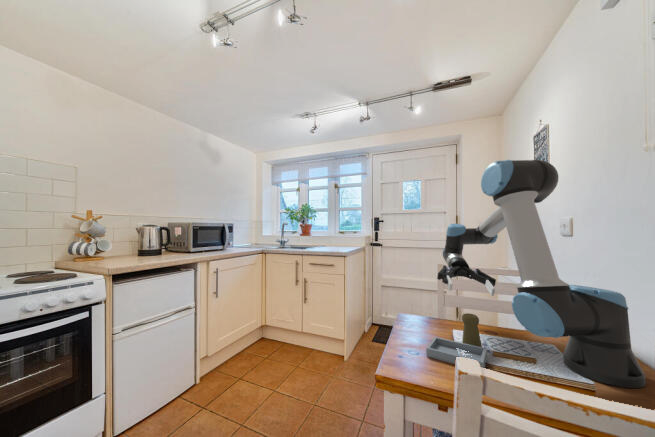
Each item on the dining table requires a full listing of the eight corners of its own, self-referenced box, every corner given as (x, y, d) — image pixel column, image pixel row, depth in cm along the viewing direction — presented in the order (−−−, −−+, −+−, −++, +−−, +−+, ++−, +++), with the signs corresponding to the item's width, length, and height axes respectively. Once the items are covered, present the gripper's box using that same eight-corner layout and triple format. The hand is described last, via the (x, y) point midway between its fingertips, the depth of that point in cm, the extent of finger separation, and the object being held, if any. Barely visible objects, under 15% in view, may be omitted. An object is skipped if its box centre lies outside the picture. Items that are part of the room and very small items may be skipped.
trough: (487, 356, 77) (486, 348, 77) (483, 372, 69) (483, 362, 69) (435, 344, 87) (434, 336, 87) (426, 356, 78) (426, 348, 78)
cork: (486, 348, 82) (484, 315, 83) (473, 352, 80) (471, 318, 81) (470, 341, 88) (468, 310, 89) (458, 344, 86) (456, 313, 87)
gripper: (488, 276, 104) (509, 303, 85) (426, 269, 111) (433, 293, 91) (490, 260, 103) (513, 284, 83) (428, 254, 109) (435, 275, 89)
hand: (471, 289), depth 87 cm, fingers open, 13 cm apart
